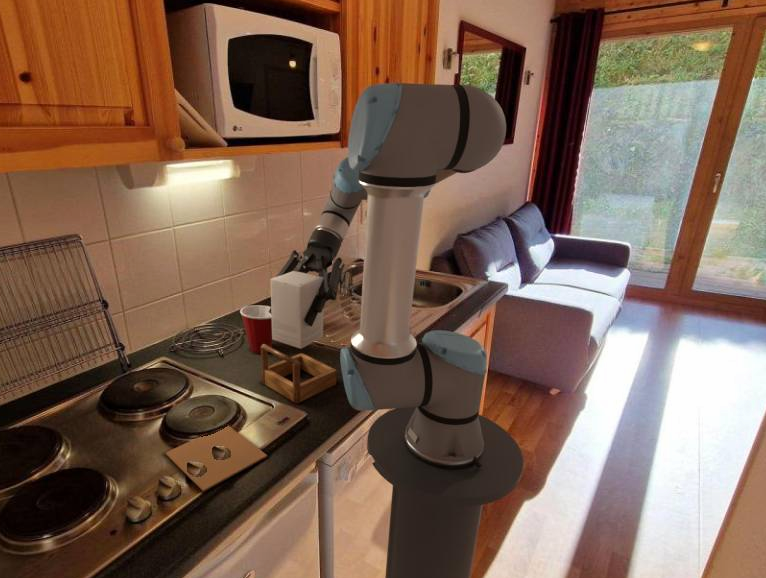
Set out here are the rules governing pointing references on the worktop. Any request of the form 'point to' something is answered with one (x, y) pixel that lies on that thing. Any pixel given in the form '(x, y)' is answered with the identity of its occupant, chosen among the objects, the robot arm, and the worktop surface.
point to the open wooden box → (296, 375)
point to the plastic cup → (257, 326)
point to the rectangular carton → (295, 308)
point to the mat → (216, 469)
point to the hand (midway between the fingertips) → (289, 319)
